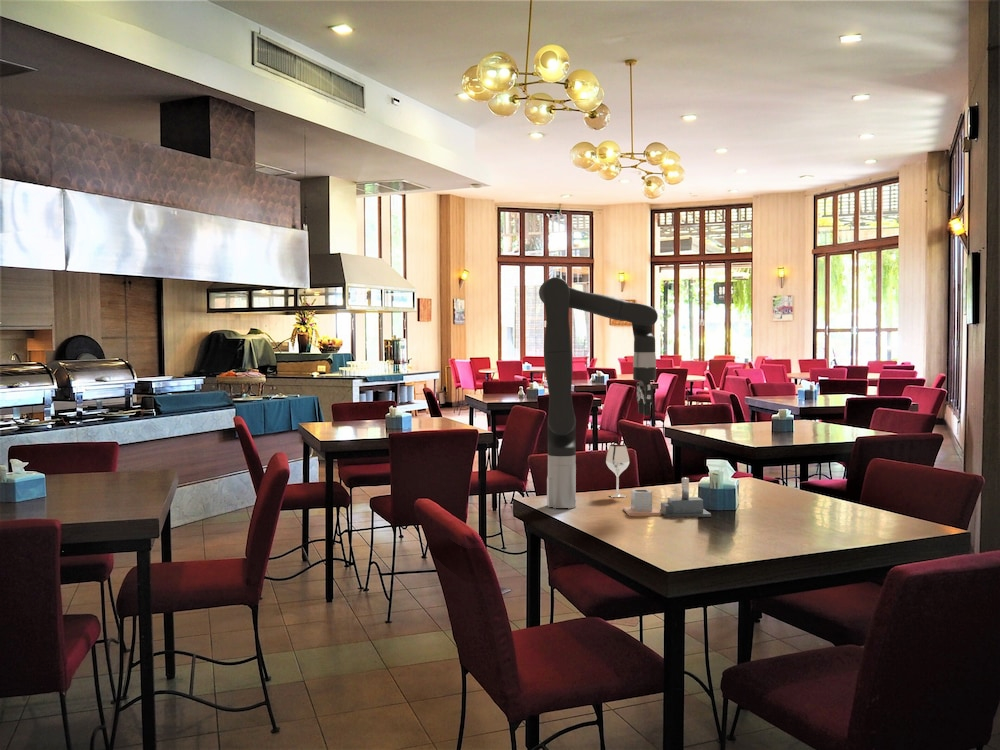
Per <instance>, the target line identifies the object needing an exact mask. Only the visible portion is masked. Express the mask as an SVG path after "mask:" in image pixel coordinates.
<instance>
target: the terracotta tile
mask: <svg viewBox="0 0 1000 750" xmlns="http://www.w3.org/2000/svg"><path fill="white" fill-rule="evenodd" d="M623 510H624V511H625V512H626V513H627V514H628V515H629V516H628V515H627V514H626V515H627V516H628V517H658V516H659V517H660V516H661V515H662V514H661V512H660V510H659V509H657V508H656V507H655V506H652V511H634V510H633V509H631V506H622V511H623ZM624 511H623V512H624ZM625 512H624V513H625Z"/></svg>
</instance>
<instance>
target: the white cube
mask: <svg viewBox="0 0 1000 750" xmlns="http://www.w3.org/2000/svg"><path fill="white" fill-rule="evenodd" d="M630 507H631V509H633V510H634V511H652V507H653V492H652V490H650V489H647V488H646V489H645V488H641V489H640V488H639V489H635V488H634V489H630Z"/></svg>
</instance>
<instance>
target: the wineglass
mask: <svg viewBox="0 0 1000 750" xmlns="http://www.w3.org/2000/svg"><path fill="white" fill-rule="evenodd" d="M605 458H606V459H605V464H606V466H607V467H608V469H609V470H611V472H613V474H614V475H615V476H616V493H613V496H611V497H610V498H613V497H624V498H627V497H628V496H627V495H626V494H623V493H622V494H621V493H620V489H619V487H620V484H619V483H620V478H619V477H620V475H621V474H622V473H623V472H624V471H625V470H627V469H628V467H629V465H630V456H629V453H628V448H627V445H626V444H609V446H608V449H607V453H606V457H605ZM626 496H627V497H626Z"/></svg>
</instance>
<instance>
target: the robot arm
mask: <svg viewBox="0 0 1000 750" xmlns="http://www.w3.org/2000/svg"><path fill="white" fill-rule="evenodd" d="M538 296H539V299H540V300H541V302H542V303H543V304H544V307H545V316H546V317H545V319H546V321H545V322H546V324H545V332H544V333H545V334H544V338H543V339H544V340H543V341H544V342H543V360H544V370H545V371H544V372H545V377H546V379H545V380H546V384H547V389H548V415H547V477H546V506H547V505H548V506H547V507H548V508H549V507H553V508H552V509H556V508H568V509H574V508H576V505H577V504H576V503H577V497H576V495H577V494H576V491H577V490H576V489H577V487H576V485H577V483H576V481H577V480H576V479H577V478H576V477H577V476H576V474H577V471H576V470H577V464H576V460H577V457H576V456H577V455H576V452H577V451H576V450H577V449H576V448H577V447H576V442H577V441H576V440H577V439H576V423H577V419H576V414H575V411H574V409H575V408H574V404H573V395H572V394H573V393H572V386H573V385H572V382H573V370H574V368H573V367H574V366H573V347H572V346H573V345H572V338H571V336H572V335H571V330H570V320H569V319H570V318H569V316H570V315H569V314H570V312H569V311H570V309H575V310H579V311H584V312H587V313H590V314H593V315H596V316H601V317H604V318H607V319H611V320H614V321H620V322H628V323H631V326H632V335H633V359H632V380H634V381H637V382H636V384H635V385H636V397H635V399H636V402H637V406H638V408H637V413H638V414H639V415H644V417H650V416H651V414H652V403H654V391H653V390H654V389H653V387H654V385H653V384H652V383H651V381H656V380H657V356H656V337H655V336H654V335H653V325H655V324H656V323H657V320H658V317H659V316H658V311H657V310H656V309H655V308H654V307H653V306H651V305H647V304H643V303H637V302H631V301H627V300H624V299H623V298H618V297H614V296H609V295H605V294H599V293H593V292H587V291H583V290H579V289H576V288H573V287H570V286H569V284H568V282H567V281H566V280H564V279H563V278H561V277H558V276H557V277H556V276H555V277H551V278H549V279H546V280H545V281H544V282H543V283H542V284H541V285H540V286H539V290H538Z"/></svg>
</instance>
